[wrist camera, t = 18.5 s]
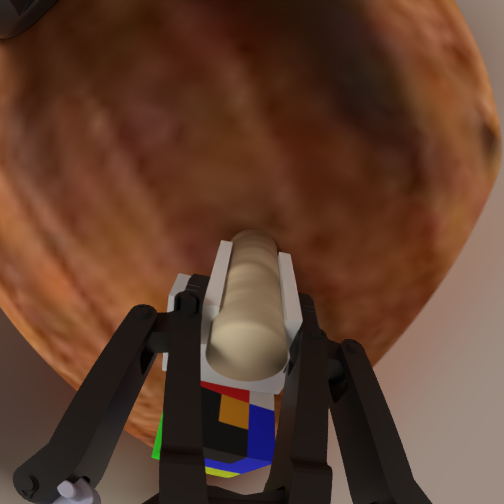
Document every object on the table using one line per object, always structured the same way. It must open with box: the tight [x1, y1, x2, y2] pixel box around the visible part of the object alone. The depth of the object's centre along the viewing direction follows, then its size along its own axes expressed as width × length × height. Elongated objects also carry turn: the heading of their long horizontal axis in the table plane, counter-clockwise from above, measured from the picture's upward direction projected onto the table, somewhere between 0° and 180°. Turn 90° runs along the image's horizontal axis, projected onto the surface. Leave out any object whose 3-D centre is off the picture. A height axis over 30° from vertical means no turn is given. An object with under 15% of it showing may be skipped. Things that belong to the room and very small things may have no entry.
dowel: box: [205, 229, 288, 381], centre depth 16 cm, size 4×4×10 cm
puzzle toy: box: [152, 381, 275, 478], centre depth 26 cm, size 10×10×10 cm
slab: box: [162, 273, 320, 395], centre depth 24 cm, size 10×12×4 cm
